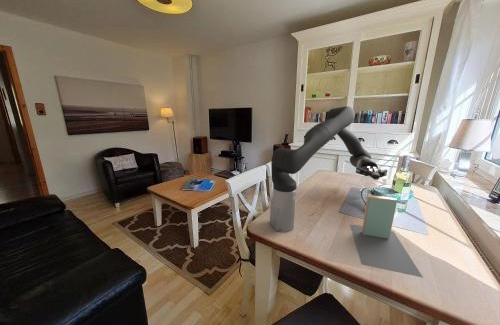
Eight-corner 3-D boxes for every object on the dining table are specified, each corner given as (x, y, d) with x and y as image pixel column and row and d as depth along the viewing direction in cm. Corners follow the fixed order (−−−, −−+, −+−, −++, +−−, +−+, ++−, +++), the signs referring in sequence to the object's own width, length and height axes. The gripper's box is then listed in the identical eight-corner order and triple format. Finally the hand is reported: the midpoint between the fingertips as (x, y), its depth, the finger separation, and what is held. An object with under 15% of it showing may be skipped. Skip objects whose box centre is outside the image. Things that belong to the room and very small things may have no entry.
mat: (349, 225, 84) (349, 224, 84) (393, 232, 79) (393, 231, 79) (361, 265, 62) (361, 264, 62) (422, 279, 57) (423, 277, 57)
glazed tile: (361, 231, 79) (367, 194, 75) (387, 236, 76) (395, 198, 72) (362, 234, 77) (369, 197, 73) (389, 239, 74) (397, 200, 70)
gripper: (352, 157, 98) (359, 167, 82) (383, 159, 94) (397, 170, 78) (350, 172, 100) (357, 184, 84) (380, 174, 96) (393, 187, 80)
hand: (376, 177), depth 81 cm, fingers closed
